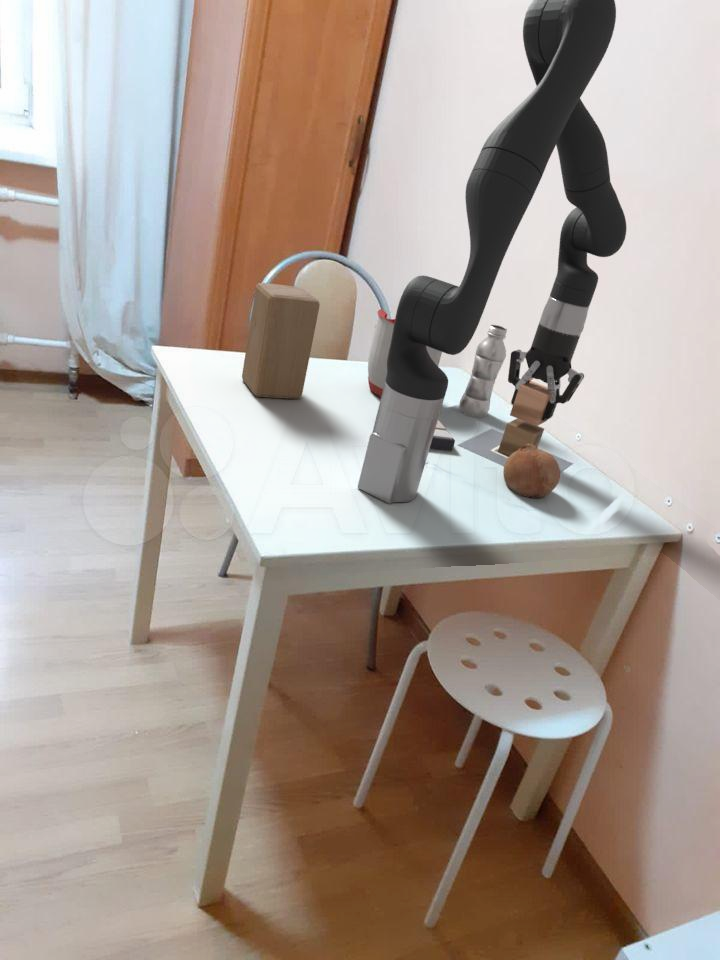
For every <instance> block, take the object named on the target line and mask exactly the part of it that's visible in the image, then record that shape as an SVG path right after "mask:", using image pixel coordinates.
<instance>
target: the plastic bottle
mask: <svg viewBox="0 0 720 960" xmlns="http://www.w3.org/2000/svg"><path fill="white" fill-rule="evenodd" d="M507 332H508V329H507V328H506V327H504V326H501V325H497V324H490V325H489V328H488V331H487V337H486V338H484V339H483V340H481V342H480V343H478V345H477V346H476V349H475V354H474V360H473V366H472V370H471V374H470V377H469V380H468V383H467V385H466V387H465V391H464V392H463V394H462V396H461V399H460V401H459V405H458V409H459V411H460V412H461V413H463V414H464V415H467V416H470V417H473V418H478V419H479V418H485V417H486V416H487V415H488V413H489V411H490V406H491V398H492V394H493V390H494V386H495V382H496V379H497V377H498V375H499V372H500V370H501V369H502V367H503V363H504V362H505V359H506V357H507V350H506V345H505V343H504V340H505V339H506V337H507V336H506V335H507Z"/></svg>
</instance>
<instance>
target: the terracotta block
mask: <svg viewBox="0 0 720 960" xmlns="http://www.w3.org/2000/svg"><path fill="white" fill-rule="evenodd" d="M549 397H550V394H549V391H548V386H545V385H543V384H540V383H538V382H535V381H532V380H531V381H530V382H529V383H526V384H525V385H524V384H521V385H520V386H519V389H518V392H517V395H516V398H515V401H514V404H513V405H512V407H511V410H510V413H509V416H511V417H514V418H515V419H517V418H518V419H520V420H523V421H525V422H527V423H530V424H532V425H535V426H540V425H542V424H544V423H546V422H547V421H548V420H546V421H543V420H542V417H543V414H544V411H545V409H546V406H547V403H548V402H549Z"/></svg>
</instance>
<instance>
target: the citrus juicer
mask: <svg viewBox="0 0 720 960" xmlns="http://www.w3.org/2000/svg"><path fill="white" fill-rule="evenodd" d="M376 314H377V319H376V323H375V326H374V331H373V335H372V339H371V344H370V347H369V353H368V354H369V355H368V358H367V359H368V360H367V361H368V362H367V374H368V375H367V381H368V386H369V390H370V391H371V392H372V393H374V394H375V395H376V396H378V397H380V398H381V396H382V392H383V388H384V384H385V380H386V376H387V358H388V353H389V349H390V344H391V339H392V333H393V328H394V322H395V318H387V317H388V312H386V311H385V310H384V309H383V308H380V309H378V310H377V313H376ZM426 347H427V351H428V353H429V355H430V357H431V359H432V360H433V361H434V363H435V364H436V365H437V366H438V367H439V364H440V360H441V358H442V354H443V352H441V351H438V350H436V349H433V348H431V347H428V346H426Z"/></svg>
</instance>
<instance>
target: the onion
mask: <svg viewBox="0 0 720 960" xmlns="http://www.w3.org/2000/svg"><path fill="white" fill-rule="evenodd" d="M539 449H540V448H538V449H537V447H536V446H534V445H533V444H530V443H529V444H528V443H527V444H526V445H525V446H523V447H521V448H520V449H519V450H518V451H516V452H514V453H513V454H511V455H510V456H509V458H508V459H507V460H506V462H505V465H504V466H503V474H502V475H503V480H504V483H505V484H506V486H507V488H508V489H510V490H511V491H513V492H514V493H516V494H518V495H520V496H524V497H527V498H530V499H538V500H540V499H543V498H544V497H545V496H547V495H548V494H550V493H552V492H553V491H554V490H555V488H557V487H558V485H559V481H560V478H561V473H560V469H559V465H558V463H557V461H556V460H555V458H554V457H553V456H552V455H553V454H552V453H550V452H548V451H545V450H543V449H541V450H539ZM542 450H543V451H542ZM547 452H548V453H547ZM549 453H550V454H549ZM551 454H552V455H551Z"/></svg>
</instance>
